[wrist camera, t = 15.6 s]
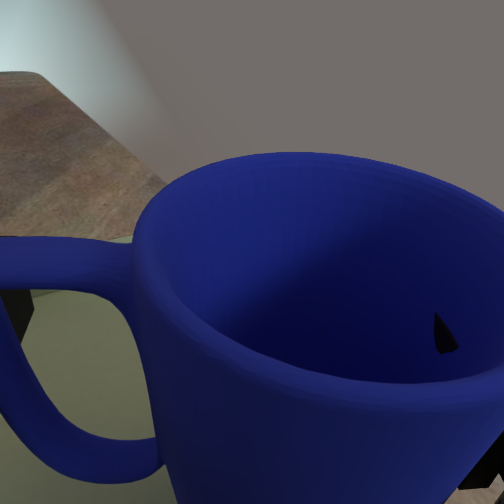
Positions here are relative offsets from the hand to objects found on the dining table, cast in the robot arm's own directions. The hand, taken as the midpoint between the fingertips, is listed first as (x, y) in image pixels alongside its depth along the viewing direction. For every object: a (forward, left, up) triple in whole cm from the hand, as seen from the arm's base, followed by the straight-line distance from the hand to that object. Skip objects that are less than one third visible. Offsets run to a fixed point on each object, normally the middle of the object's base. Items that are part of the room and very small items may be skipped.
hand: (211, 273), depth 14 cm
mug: (-4, +1, -6) cm, 7 cm away
